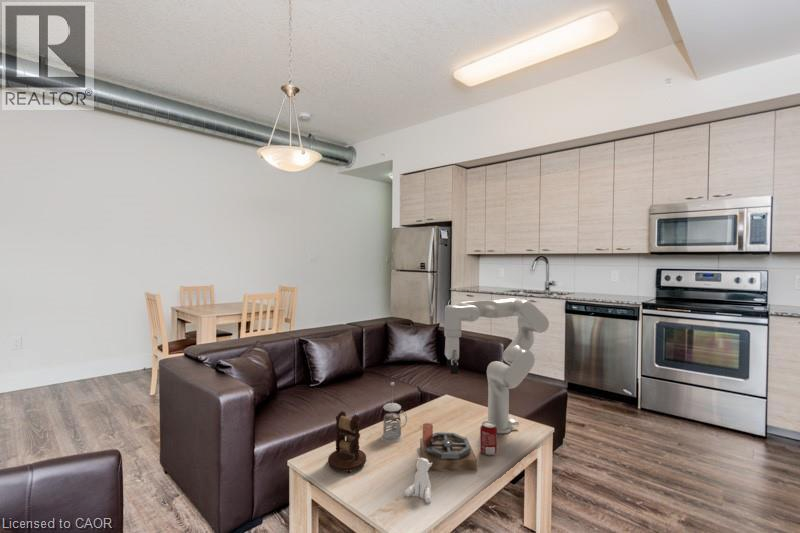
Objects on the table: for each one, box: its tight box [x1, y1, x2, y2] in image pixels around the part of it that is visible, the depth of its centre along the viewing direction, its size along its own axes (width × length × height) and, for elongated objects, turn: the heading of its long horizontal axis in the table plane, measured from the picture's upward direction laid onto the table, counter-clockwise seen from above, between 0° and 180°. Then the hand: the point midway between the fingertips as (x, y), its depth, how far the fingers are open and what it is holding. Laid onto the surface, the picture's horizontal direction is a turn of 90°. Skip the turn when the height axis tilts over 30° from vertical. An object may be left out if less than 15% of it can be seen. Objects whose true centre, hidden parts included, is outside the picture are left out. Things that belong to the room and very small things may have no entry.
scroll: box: [327, 411, 367, 474], centre depth 148 cm, size 15×15×20 cm
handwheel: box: [422, 423, 472, 458], centre depth 153 cm, size 19×18×9 cm
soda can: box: [479, 420, 498, 456], centre depth 158 cm, size 7×7×12 cm
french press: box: [380, 381, 408, 443], centre depth 170 cm, size 10×12×25 cm
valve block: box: [419, 436, 478, 472], centre depth 154 cm, size 20×18×4 cm
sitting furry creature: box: [403, 457, 432, 504], centre depth 131 cm, size 10×9×12 cm
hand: (452, 370), depth 171 cm, fingers open, 9 cm apart
